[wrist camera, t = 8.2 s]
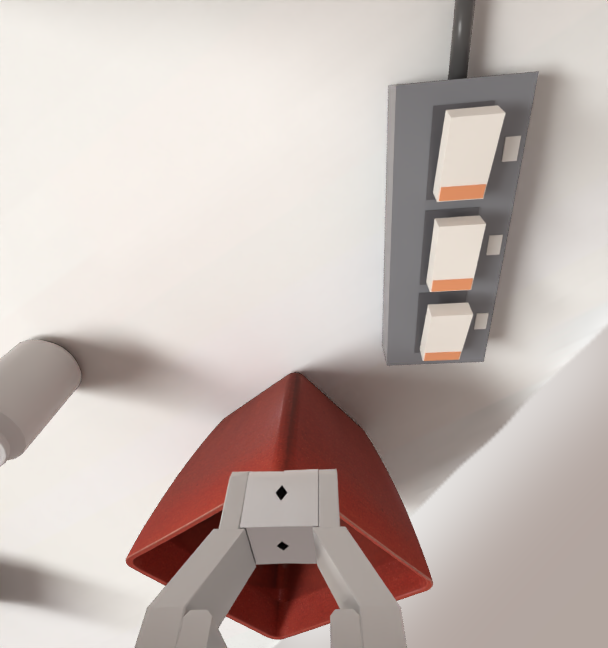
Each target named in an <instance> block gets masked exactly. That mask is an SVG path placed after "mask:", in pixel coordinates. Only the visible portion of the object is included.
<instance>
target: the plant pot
mask: <svg viewBox="0 0 608 648" xmlns="http://www.w3.org/2000/svg"><path fill="white" fill-rule="evenodd" d="M308 469H318V470H324V469H337V479H338V498H339V517H340V527H346V528H347V530H348V531H349V533H350V534H351V536H352V537H353V538H354V540H355V541H356V543H357V544H358V546H359V547H360V549H361V550H362V552H363V553H364V555H365V556H366V557H367V559H368V560H369V562H370V563H371V565H372V566H373V568H374V569H375V571H376V572H377V573H378V575H379V576H380V578H381V579H382V581H383V582H384V584H385V585H386V587H387V588H388V590H389V591H390V592H391V594H392V595H393V597H394V598H395V600H396V601H397V600H400V599H404V598H407V597H409V596H412V595H415V594H418V593H421V592H424V591H427V590H429V589H430V588H431V587H432V586H433V581H432V578H431V575H430V572H429V569H428V566H427V563H426V560H425V557H424V555H423V552H422V549H421V547H420V544H419V541H418V539H417V536H416V534H415V531H414V529H413V526H412V524H411V521H410V519H409V516H408V514H407V512H406V509H405V507H404V505H403V502H402V500H401V498H400V496H399V494H398V492H397V490H396V487H395V485H394V483H393V481H392V479H391V477H390V475H389V473H388V471H387V470H386V468H385V466H384V464H383V462H382V460H381V458H380V457H379V455H378V453H377V451H376V450H375V448H374V446H373V445H372V443H371V441H370V440H369V438H368V437H367V435H366V433H365V432H364V430H363V429H362V428H361V427H360V426H358V425H357V424H356V423H355V422H354V421H353V420H352V419H351V418H350V417H349V416H347V415H346V414H345V413H344V412H343V411H342V410H341V409H340V408H339V407H337V406H336V405H335V404H334V403H333V402H332V401H331V400H330V399H329V398H327V397H326V396H325V395H324V394H323V393H322V392H321V391H320V390H319V389H318V388H316V387H315V386H314V385H313V384H312V383H311V382H310V381H309V380H308V379H307V378H305V377H304V376H303V375H302V374H300V373H296V372H295V373H290V374H289V375H287V376H285V377H284V378H283V379H281V380H280V381H278V382H277V383H275V384H274V385H272V386H271V387H269V388H268V389H266V390H265V391H264V392H262V393H261V394H259V395H258V396H256V397H255V398H253V399H252V400H251V401H249V402H248V403H246V404H245V405H243V406H242V407H240V408H239V409H237V410H236V411H234V412H233V413H232V414H230V415H229V416H227V417H226V418H224V419H223V420H222V421H221V422H220V423H219V424H218V425H217V427H216V428H215V429H214V430H213V431H212V432H211V433H210V435H209V436H208V437H207V438H206V439H205V441H204V442H203V443H202V444H201V446H200V447H199V448H198V449H197V451H196V452H195V453H194V454H193V456H192V457H191V458H190V460H189V461H188V462H187V464H186V465H185V466H184V468H183V469H182V470H181V472H180V473H179V474H178V476H177V477H176V479H175V480H174V482H173V483H172V484H171V486H170V487H169V489H168V490H167V492H166V493H165V495H164V496H163V498H162V499H161V501H160V502H159V504H158V506H157V507H156V509H155V510H154V512H153V513H152V515H151V516H150V518H149V520H148V521H147V523H146V524H145V526H144V528H143V529H142V531H141V533H140V534H139V536H138V538H137V540H136V541H135V543H134V545H133V547H132V549H131V551H130V552H129V554H128V556H127V558H126V563H127V565H128V566H129V567H131V568H133V569H135V570H137V571H138V572H140V573H142V574H144V575H146V576H148V577H150V578H152V579H154V580H155V581H157V582H159V583H161V584H163V585H165V586H166V585H167V584H168V583H169V581H170V580H171V579H172V578H173V577H174V575H175V574H176V573H177V572H178V571H179V569H180V568H181V567H182V566H183V565H184V564H185V562H186V561H187V560H188V559H189V558H190V556H191V555H192V554H193V553H194V552H195V550H196V549H197V548H198V547H199V546H200V545H201V543H202V542H203V541H204V540H205V539H206V537H207V536H208V535H209V534H210V533H211V531H212V530H213V529H219V525H220V520H221V516H222V511H223V506H224V501H225V497H226V492H227V487H228V483H229V478H230V476H231V474H232V472H246V471H250V472H256V471H286V470H308ZM335 609H340V608H339V606H338V604H337V602H336V600H335V598H334V596H333V594H332V593H331V591H330V589H329V587H328V585H327V583H326V581H325V579H324V577H323V575H322V573H321V572H320V570H319V568H318V566H317V564H298V563H282V564H258V565H256V568H255V569H254V571H253V572H252V574H251V576H250V577H249V579H248V581H247V582H246V584H245V585H244V587H243V589H242V590H241V592H240V594H239V595H238V597H237V599H236V600H235V602H234V603H233V605H232V607H231V608H230V610H229V612H228V613H227V615H226V617H228V618H230V619H232V620H234V621H236V622H238V623H240V624H242V625H244V626H246V627H248V628H250V629H252V630H254V631H256V632H258V633H260V634H262V635H264V636H266V637H268V638H271V639H284V638H288V637H291V636H294V635H297V634H300V633H303V632H306V631H309V630H312V629H315V628H318V627H321V626H323V625H326V624H329V623H330V615H331V614H332V613H333V611H334V610H335Z"/></svg>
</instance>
